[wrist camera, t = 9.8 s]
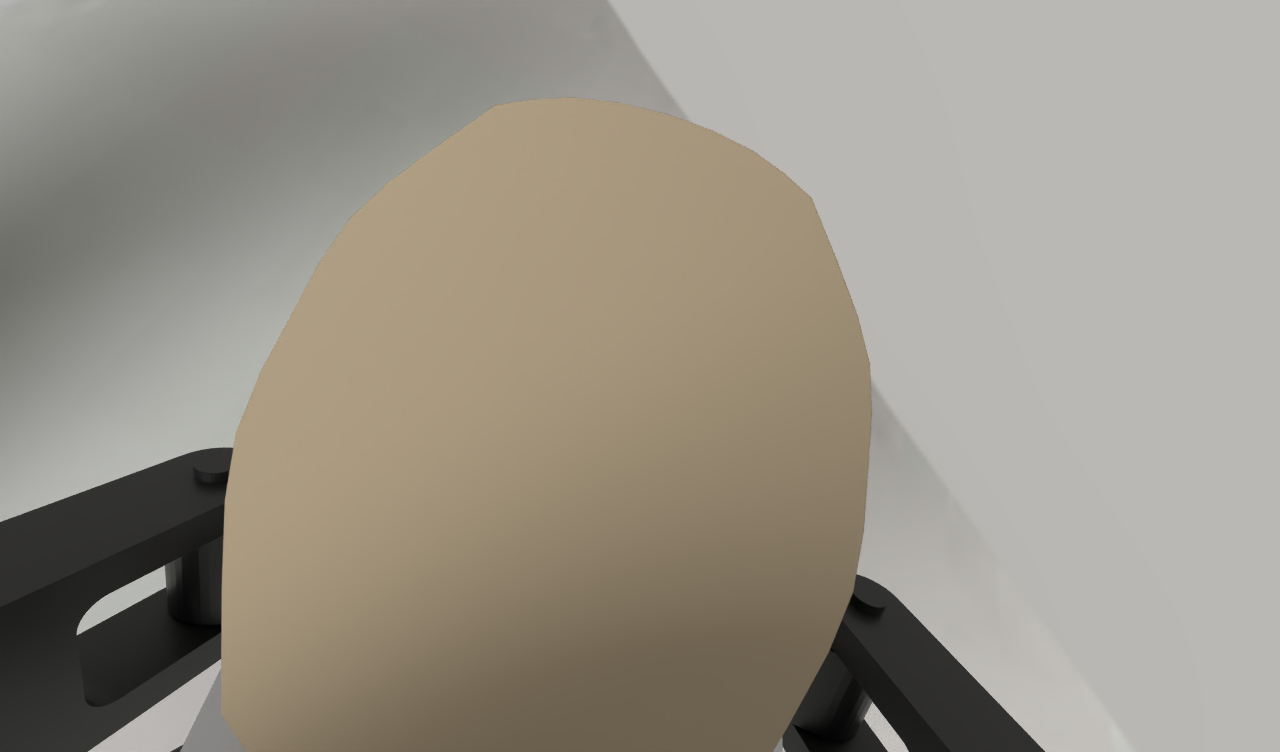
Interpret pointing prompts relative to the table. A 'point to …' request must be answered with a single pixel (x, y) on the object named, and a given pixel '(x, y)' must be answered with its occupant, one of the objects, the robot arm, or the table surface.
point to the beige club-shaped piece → (551, 454)
